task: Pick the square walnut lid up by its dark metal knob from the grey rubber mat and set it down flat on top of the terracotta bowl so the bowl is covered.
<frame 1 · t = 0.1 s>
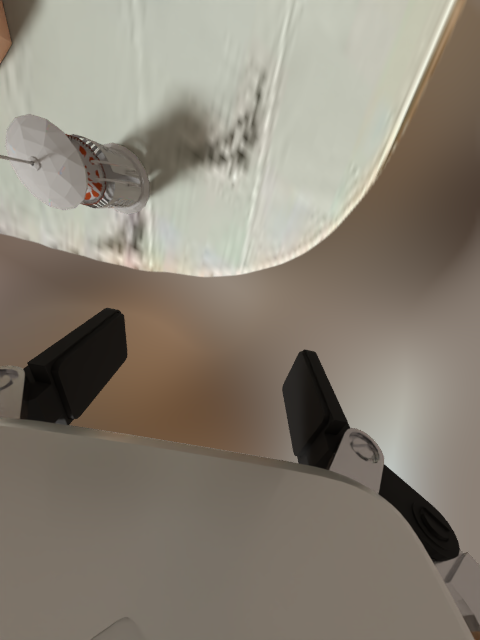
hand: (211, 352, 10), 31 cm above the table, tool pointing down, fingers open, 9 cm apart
grey cylindrical piece: (126, 181, 33), on the table
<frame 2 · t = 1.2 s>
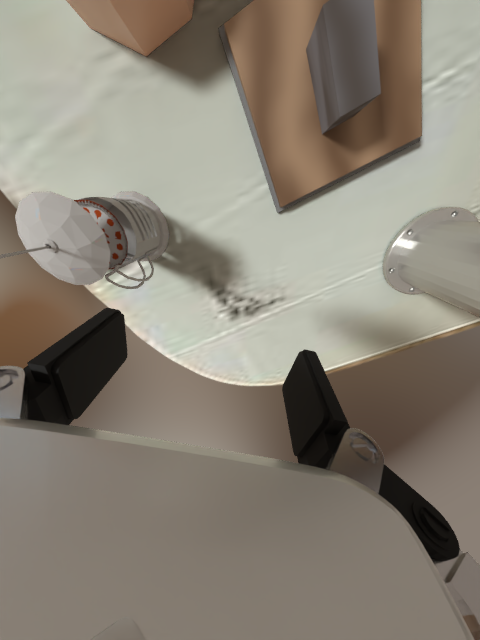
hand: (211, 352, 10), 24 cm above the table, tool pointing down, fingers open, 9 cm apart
grey cylindrical piece: (142, 234, 30), on the table
lid: (328, 89, 22), point 1 cm above the table, touching mat
mat: (326, 92, 22), on the table
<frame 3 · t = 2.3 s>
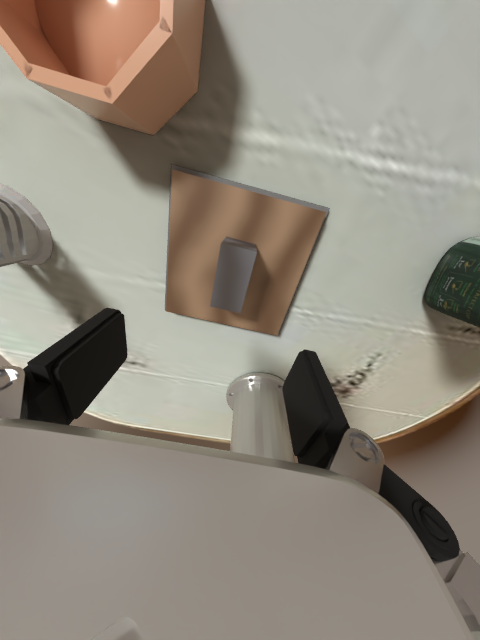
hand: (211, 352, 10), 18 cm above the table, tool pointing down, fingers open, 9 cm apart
coffee jar: (458, 273, 26), on the table
bowl: (119, 16, 16), on the table
grey cylindrical piece: (17, 234, 26), on the table
lid: (235, 266, 26), point 1 cm above the table, touching mat
mat: (235, 265, 26), on the table
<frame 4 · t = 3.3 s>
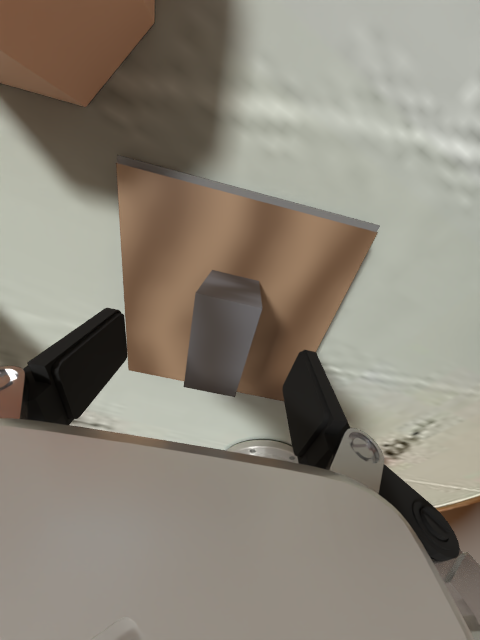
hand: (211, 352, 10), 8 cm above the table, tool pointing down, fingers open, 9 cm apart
lid: (228, 310, 17), point 1 cm above the table, touching mat
mat: (228, 307, 18), on the table
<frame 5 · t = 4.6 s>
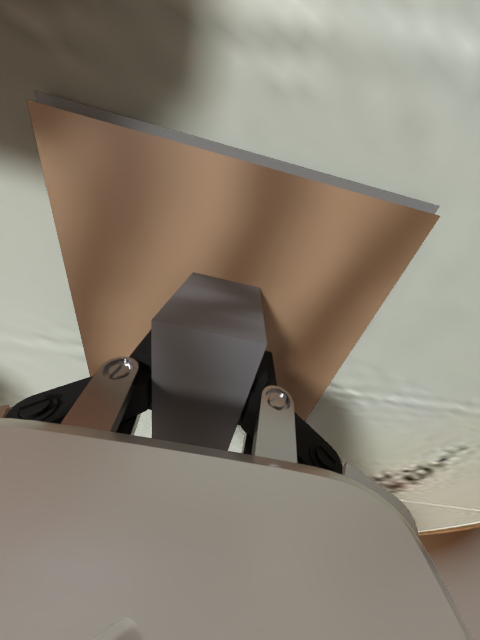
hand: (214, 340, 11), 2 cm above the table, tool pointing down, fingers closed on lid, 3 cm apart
lid: (218, 324, 13), point 1 cm above the table, touching gripper, mat
mat: (219, 320, 13), on the table
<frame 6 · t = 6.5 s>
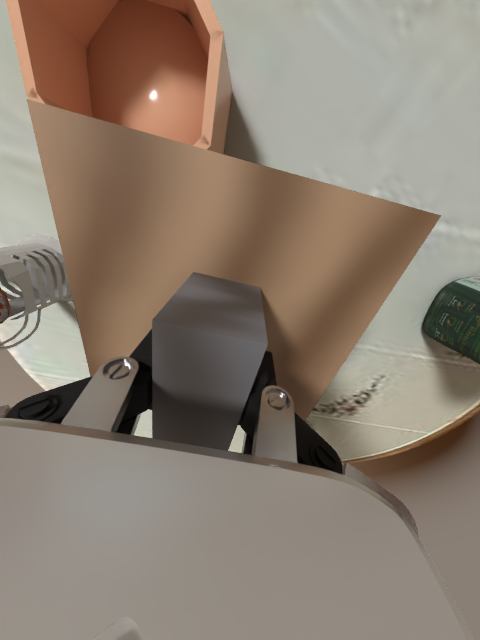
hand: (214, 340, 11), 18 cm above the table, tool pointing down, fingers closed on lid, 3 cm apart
coffee jar: (453, 306, 28), on the table
bowl: (159, 111, 20), on the table
grey cylindrical piece: (57, 276, 29), on the table
lid: (218, 324, 13), point 16 cm above the table, touching gripper
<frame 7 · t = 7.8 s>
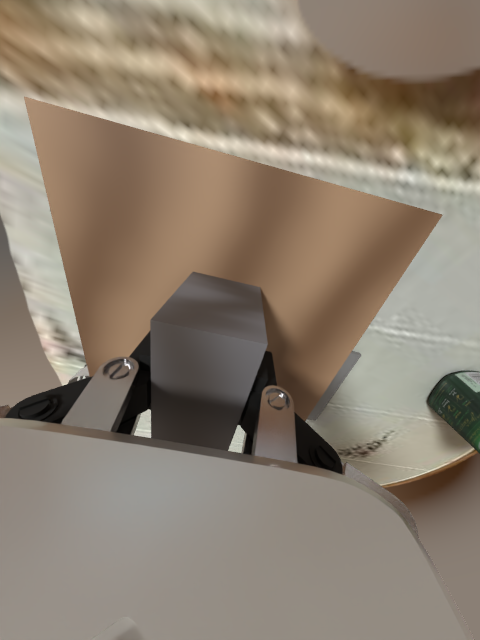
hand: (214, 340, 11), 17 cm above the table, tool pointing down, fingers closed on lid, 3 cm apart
coffee jar: (453, 386, 35), on the table
lid: (218, 324, 13), point 15 cm above the table, touching gripper
mat: (288, 380, 36), on the table
when the fingers open (10 cm above the table, at t = 9.2 s): lid stays where it is, resting on bowl.
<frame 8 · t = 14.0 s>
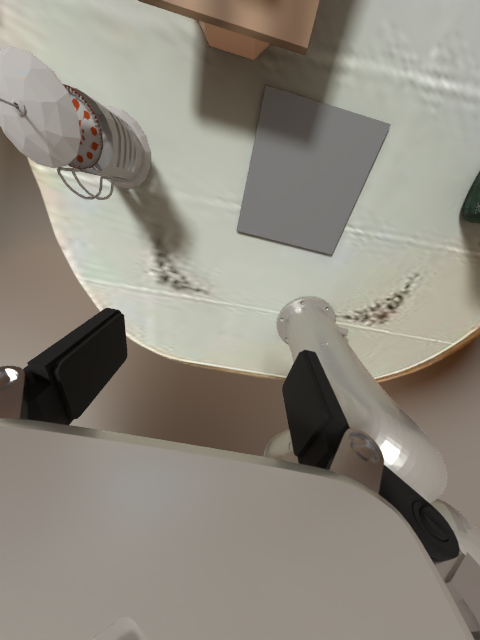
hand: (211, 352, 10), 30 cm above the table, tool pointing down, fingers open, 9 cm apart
grey cylindrical piece: (121, 158, 31), on the table
mat: (303, 184, 31), on the table
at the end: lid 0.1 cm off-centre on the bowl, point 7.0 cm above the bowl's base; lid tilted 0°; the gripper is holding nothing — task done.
